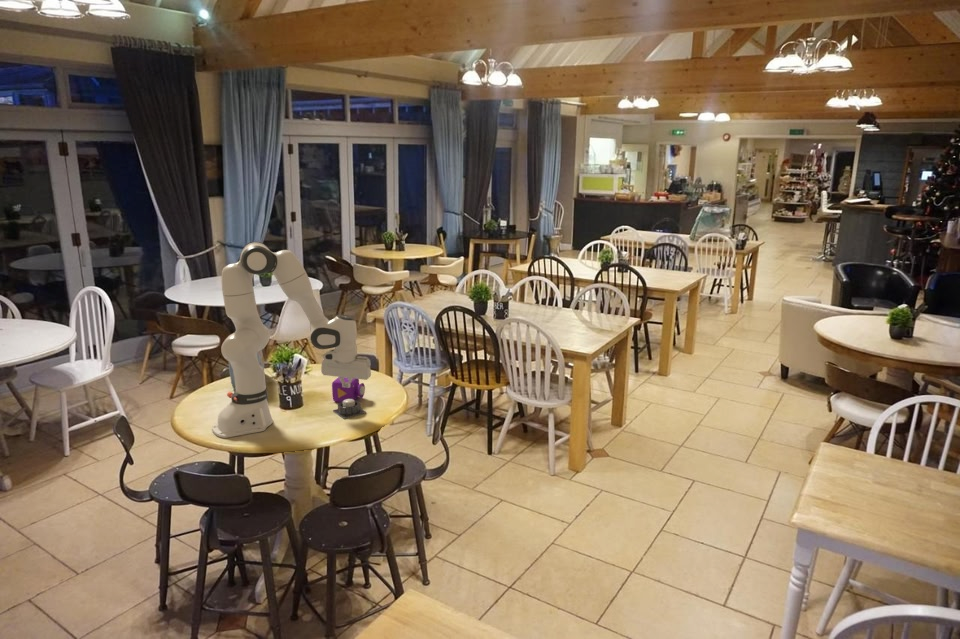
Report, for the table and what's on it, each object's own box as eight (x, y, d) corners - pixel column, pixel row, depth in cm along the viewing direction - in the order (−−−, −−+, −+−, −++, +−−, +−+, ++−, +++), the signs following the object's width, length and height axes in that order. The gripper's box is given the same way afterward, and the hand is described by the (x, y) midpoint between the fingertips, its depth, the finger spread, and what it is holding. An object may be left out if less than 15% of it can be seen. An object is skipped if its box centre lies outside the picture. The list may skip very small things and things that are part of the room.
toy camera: (363, 404, 279) (362, 382, 276) (331, 404, 279) (330, 382, 276) (368, 395, 289) (367, 373, 287) (337, 395, 289) (336, 373, 287)
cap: (346, 414, 266) (346, 404, 265) (340, 410, 270) (340, 400, 269) (357, 411, 269) (357, 401, 268) (351, 407, 273) (351, 397, 272)
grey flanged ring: (344, 419, 263) (343, 410, 262) (332, 411, 271) (332, 403, 270) (366, 413, 269) (365, 404, 268) (354, 405, 277) (354, 397, 276)
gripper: (373, 355, 265) (373, 387, 268) (325, 350, 268) (326, 382, 272) (367, 359, 259) (367, 392, 262) (319, 354, 262) (319, 387, 266)
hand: (346, 387), depth 267 cm, fingers closed
